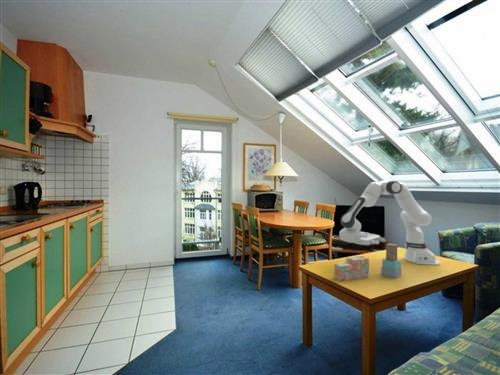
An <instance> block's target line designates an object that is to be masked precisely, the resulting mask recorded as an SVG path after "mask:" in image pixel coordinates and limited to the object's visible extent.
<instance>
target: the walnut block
mask: <svg viewBox="0 0 500 375" xmlns="http://www.w3.org/2000/svg"><path fill="white" fill-rule="evenodd" d="M385 258H386V260H389V261H396V260H397V259H398V244H395V243H391V242H390V243H387V244H385Z"/></svg>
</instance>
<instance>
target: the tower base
mask: <svg viewBox="0 0 500 375" xmlns="http://www.w3.org/2000/svg"><path fill="white" fill-rule="evenodd" d="M380 274H381V275H382V276H385V277H390V278H393V279H397V278H399V277H400V276H402V267H401V268H399V269H397V270H392V269H388V268H385V267H382V266H381V267H380Z"/></svg>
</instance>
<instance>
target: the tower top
mask: <svg viewBox="0 0 500 375" xmlns="http://www.w3.org/2000/svg"><path fill="white" fill-rule="evenodd" d="M381 261H382V262H381V267H385V268H388V269H392V270H397V269H399V268H401V269H402V260H401V259H398V258H397V260H396V261H389V260H386V257H385V258H383V259H382V260H381Z"/></svg>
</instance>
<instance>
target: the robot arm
mask: <svg viewBox="0 0 500 375" xmlns="http://www.w3.org/2000/svg"><path fill="white" fill-rule="evenodd" d="M381 195H383V196H384V195H386V196H389V195H393V196H394V198H395V200H396V202H397V204H398V205H399V208H401V209H402V211H401V212H400V219H401V220H402V222H403V224H404V227H405V232H406V240H405V251H404V252H405V254H404V256H403V259H404V260H405V261H407V262H410V263H414V264H418V265H420V264H421V265H428V266H429V265H432V266H439V265H440V261H439V260H437V259H436V255H435V254H434V253H433V252H432V251H431V250H430V249H428V247H429V244H427V243H424V237H425V236H424V231H423V229H422V228H421V227H422V226H424V227H425V226H429V225H430V224H431V222H432V221H433V219H432V218H433V217H432V216H431V214H430V213H428V212H427V211H426V210H425V209H424V208H423V207H421V205H420V204H419V203H418V202H417V201H416V200H415V198H414V196H413V193H412V192H411V191H410V189H409V188H408V186H407V185H406V184H405V183H404V182H402V181H397V180H393V179H391V180H390V179H385V180H380V181H377V182H376V181H373V182H370V183H369V184H368V185H367V186H366V187H365V189H364V191H363V192H362V194H361V196H359V197H358V198H356V200H355V201H354V202H352V203H353V204H352V205H351V207H350V208H349V209H348V210H347V211H346V212H345V213H344V214H343V215H342V216H341V217H340V225H341V226H342V227H343V228H342V229H341V230H340V231H339V232H338V233H339V234H338V235H339V238H340V240H341V241H343V242H347V243H350V244H352V243H354V244H357V245H361V246H370V245H379V244H380V242H382V243H385V242H386V239H385V238H383V237H381V235H379V234H376V233H369V232H367V231H366V232H365V231H361V229H362V223H361V222H360V221H359V220H358V219H357V218H356V216H357V215H358V214H359V212H360V211H361V210H362V208H364V207H365V208H370V207H373V206H374V205H376V203H377V201H378V199H379V197H380V196H381Z"/></svg>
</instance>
